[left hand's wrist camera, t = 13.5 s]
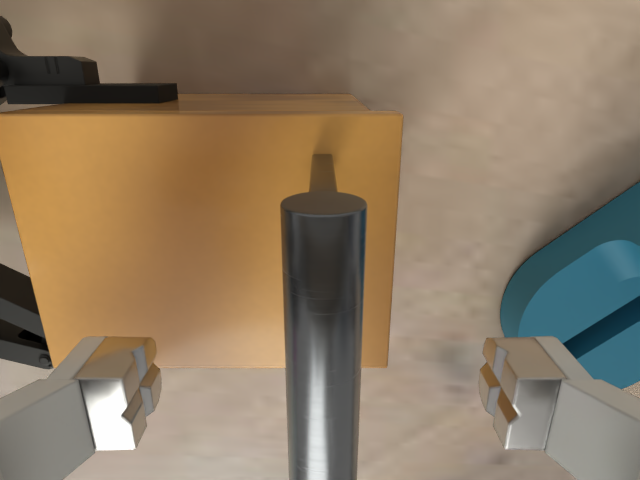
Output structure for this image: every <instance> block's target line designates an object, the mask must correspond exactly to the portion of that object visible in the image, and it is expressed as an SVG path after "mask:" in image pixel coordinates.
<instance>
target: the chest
mask: <svg viewBox="0 0 640 480" xmlns="http://www.w3.org/2000/svg"><path fill="white" fill-rule="evenodd" d="M15 111H370V110H369V109H368V108H367V107H366V106H364V105H363V104H362V103H361V102H360V101H358V100H357V99H356V98H355V97H354V96H353V95H351V94H178V100H173V101H169V102H164V103H65V104H58V105H51V106H43V107H36V108H29V109H22V110H15Z"/></svg>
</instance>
